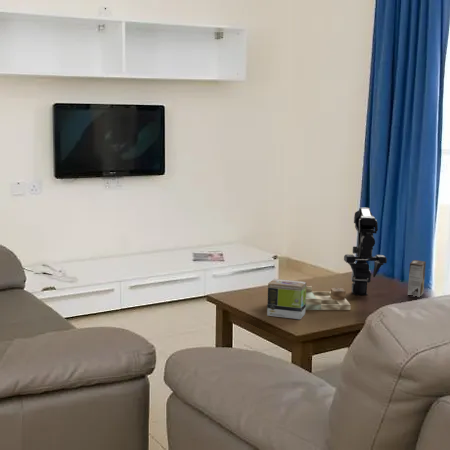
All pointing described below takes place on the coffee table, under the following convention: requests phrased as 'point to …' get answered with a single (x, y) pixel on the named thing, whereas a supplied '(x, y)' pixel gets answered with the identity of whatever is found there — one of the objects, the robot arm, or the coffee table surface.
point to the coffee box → (416, 278)
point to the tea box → (286, 298)
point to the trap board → (324, 301)
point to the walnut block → (337, 294)
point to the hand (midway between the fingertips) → (364, 277)
